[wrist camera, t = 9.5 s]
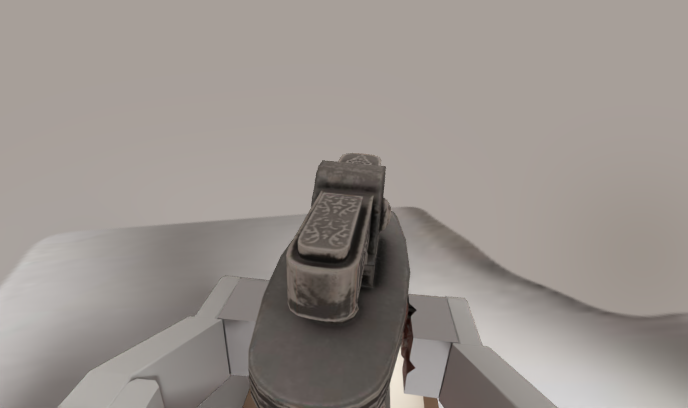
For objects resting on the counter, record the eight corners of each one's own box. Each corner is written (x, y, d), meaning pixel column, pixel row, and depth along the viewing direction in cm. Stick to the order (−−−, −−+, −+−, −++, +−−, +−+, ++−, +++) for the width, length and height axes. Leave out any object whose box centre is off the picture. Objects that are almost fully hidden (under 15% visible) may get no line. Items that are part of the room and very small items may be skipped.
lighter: (314, 345, 16) (317, 127, 12) (388, 357, 16) (418, 135, 11) (239, 592, 9) (176, 259, 5) (373, 627, 8) (440, 294, 4)
